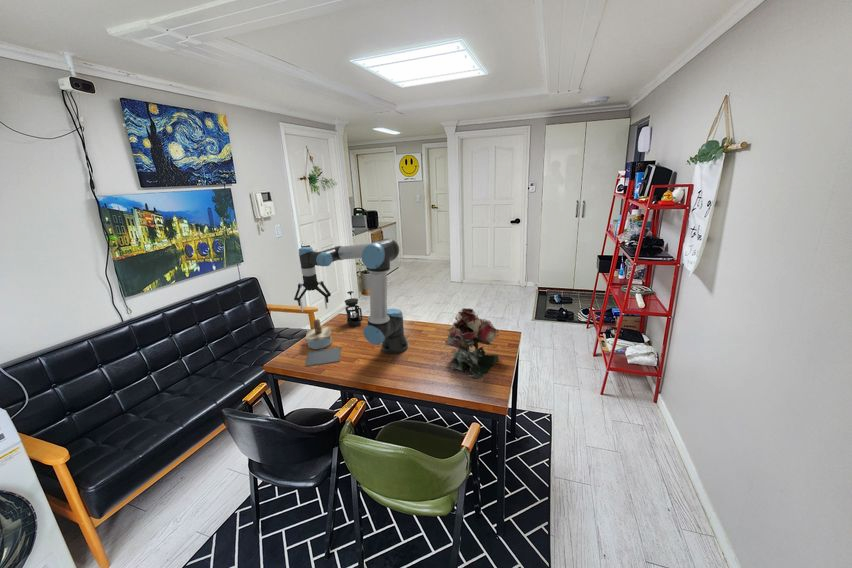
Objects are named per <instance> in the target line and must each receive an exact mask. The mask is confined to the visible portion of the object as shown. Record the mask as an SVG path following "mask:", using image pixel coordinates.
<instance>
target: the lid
mask: <svg viewBox="0 0 852 568" xmlns="http://www.w3.org/2000/svg"><path fill="white" fill-rule="evenodd" d="M330 338H331V339H332V326H325V327H322V325H321V320H320V319H318V318H317V319H314V320H313V329H312V328H311V329H307V330H306V335H305V338H304V341H305V343H308V342H310V341H317V340H324V339H330Z"/></svg>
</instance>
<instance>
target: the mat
mask: <svg viewBox="0 0 852 568" xmlns="http://www.w3.org/2000/svg"><path fill="white" fill-rule="evenodd" d="M340 361H341V347H334V348H333V347H332V348H327V349H326V348H324V349H317V350H313V351H311V350H310V351H308V352H307V356H306V361H305V367H306V368H307V367H313V366H319V365H327V364H333V363H339V362H340Z"/></svg>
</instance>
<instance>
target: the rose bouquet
mask: <svg viewBox="0 0 852 568" xmlns="http://www.w3.org/2000/svg"><path fill="white" fill-rule="evenodd" d="M454 319H455V320H456V321H454V322H453V323H452V325H451V326H450V327H449V328H448V329H446V331H447V332H448V333H447V338H446V337H445V338H446V340H445V341H444V342H445V343H444V344H445V346H449V347H452V348H455V349H457V350H456V351H455V352H453V356H452V359H451V360H450V361H449V362H448V364H451V366H450V370H452V371H453V370H459V371H462V372H464V373H468V371H467V370H466V368H467V367H470V368H469V371H470V372H471V373H472V374H467V376H468V377H470V378H474V379H475V380H479V379H483V377H485V375H487V374H488V373H489V371H491V367H493V366H494V365H495V364H496V363H497V361H498V358H499V355H498V354H486V352H485V350H484V348H483V346H480V347H479V343H480V344H483V345H487V346H493V345H494V344H493V343H492V342H494V339H496V335H498V333H499V329H497V328H496V327H495V326H494V324H493V323H492V322H491V320H488V319H486V318H479V315H478V314H477V313H476V311H475V310H474V309H473V308H470V307H469V308H468V307H467V308H461V310H459V311H458V313H457V314H456V315H455V317H454ZM473 347H474V350H472V348H473ZM470 348H471V349H470Z"/></svg>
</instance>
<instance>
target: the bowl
mask: <svg viewBox="0 0 852 568" xmlns="http://www.w3.org/2000/svg"><path fill="white" fill-rule="evenodd" d="M331 344H332V337H331V338H330V339H324V340H317V341H310V342H307V345H308V348H310V349H313V350H322V349H326V348H327V347H328V346H330V345H331Z"/></svg>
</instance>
